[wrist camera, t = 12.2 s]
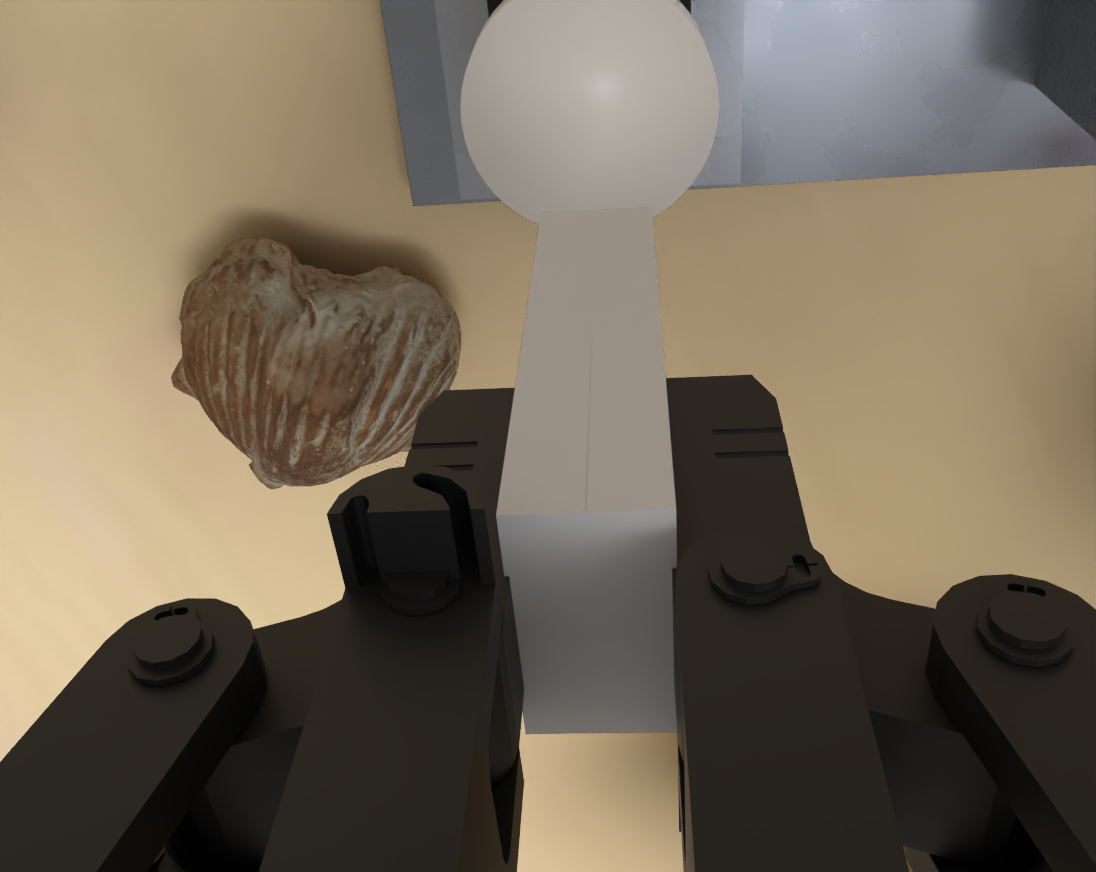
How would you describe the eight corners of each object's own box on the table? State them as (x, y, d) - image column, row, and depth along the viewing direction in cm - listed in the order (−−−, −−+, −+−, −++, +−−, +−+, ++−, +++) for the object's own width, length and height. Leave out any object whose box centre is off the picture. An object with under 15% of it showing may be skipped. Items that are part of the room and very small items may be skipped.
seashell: (427, 431, 41) (487, 264, 36) (404, 565, 36) (471, 389, 31) (185, 365, 39) (214, 178, 34) (123, 495, 34) (147, 296, 29)
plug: (687, 91, 29) (717, 228, 22) (508, 103, 30) (476, 241, 22) (686, -110, 26) (721, -34, 19) (488, -93, 27) (443, -13, 19)
